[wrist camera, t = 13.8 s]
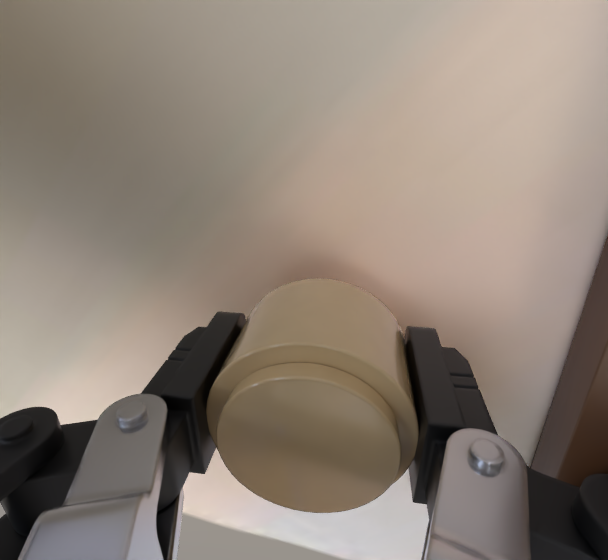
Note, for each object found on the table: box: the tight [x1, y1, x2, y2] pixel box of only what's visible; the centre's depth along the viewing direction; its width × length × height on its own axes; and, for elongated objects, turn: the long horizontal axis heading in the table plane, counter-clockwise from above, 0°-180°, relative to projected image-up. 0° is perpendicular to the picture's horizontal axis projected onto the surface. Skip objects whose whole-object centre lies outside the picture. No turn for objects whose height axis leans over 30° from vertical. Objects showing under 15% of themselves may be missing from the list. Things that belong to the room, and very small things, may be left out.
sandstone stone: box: [206, 278, 419, 513], centre depth 9 cm, size 5×5×4 cm
